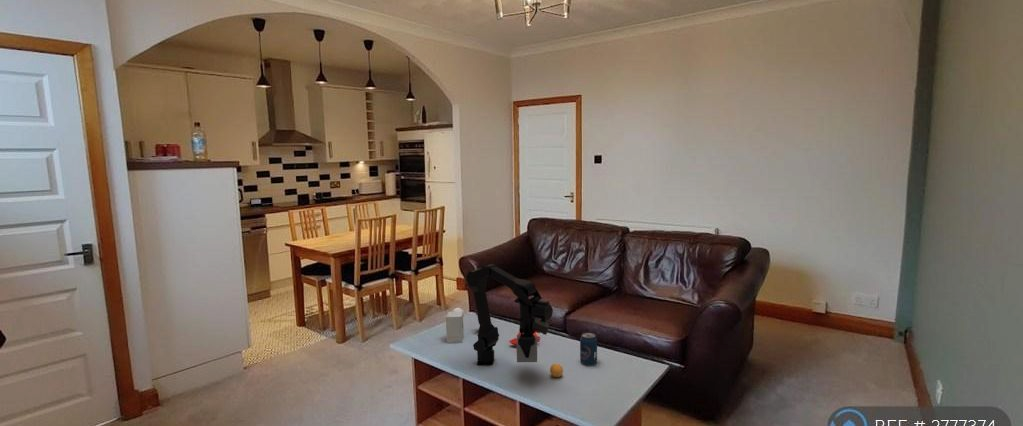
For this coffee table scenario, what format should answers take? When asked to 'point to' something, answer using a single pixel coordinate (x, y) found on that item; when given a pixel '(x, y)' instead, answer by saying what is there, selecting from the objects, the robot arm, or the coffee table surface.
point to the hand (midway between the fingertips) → (527, 353)
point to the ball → (556, 370)
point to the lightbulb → (458, 310)
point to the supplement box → (454, 327)
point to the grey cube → (532, 353)
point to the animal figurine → (519, 334)
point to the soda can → (588, 349)
